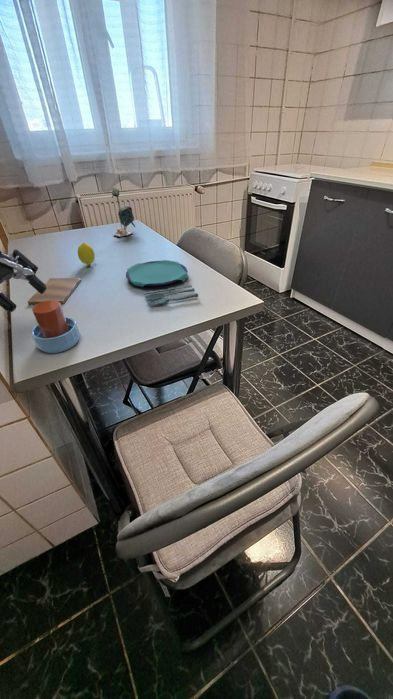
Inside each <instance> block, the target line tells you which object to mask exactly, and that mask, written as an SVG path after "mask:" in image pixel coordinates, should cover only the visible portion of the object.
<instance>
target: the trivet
mask: <svg viewBox="0 0 393 699" xmlns="http://www.w3.org/2000/svg"><path fill="white" fill-rule="evenodd" d="M81 282H82V278H81V277H53V278H52V277H51V278H49V279H48V280H47V281H46V282H45V283H44V284H45V285H46V288H47V289H46V291H45V292H44V293H43V294H40V293H39V292H38V291H37V290H36V292H35V293H34V294H33V295H32V296H31V297H30V299H29V300H28V301H27V304H28V305H29V306H35V305H36V304H38V303H41V302H44V301H49V300H54V301H58V302H59V303H60V305H64V304H65V303H66V302H67V300H68V299H69V298H70V297H71V295H72V294H73V293H74V291H75V290H76V289H77V287H78V286H79V285H80V284H81Z"/></svg>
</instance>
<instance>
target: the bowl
mask: <svg viewBox="0 0 393 699" xmlns="http://www.w3.org/2000/svg"><path fill="white" fill-rule="evenodd" d="M65 319H66V322H67V325H68V328H69V332H67V333H65V334H63V335H60V336H58V337H53V338H43V335H42V333H41V331H40V328H39V326H38V323H37V324H35V326H33V328H32V329H31V331H30V333H31V337H32V340H33V342H34V344H35V346H36V348H37V349H38V350H40V351H42V352H44V353H47V354H57V353H62V352H65V351H68V350H70V349H71V348H73V347H75V345H77V344H78V342H79V339H80V335H81V334H80V331H79V327H78V324H77V322H76V320H75V319H74V318H73V317H69V316H65Z"/></svg>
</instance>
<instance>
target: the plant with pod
mask: <svg viewBox="0 0 393 699" xmlns="http://www.w3.org/2000/svg"><path fill="white" fill-rule="evenodd" d="M111 190H112V191H111V195H112V196H111V199H113V198H114V197H115V198H116V200H117V206H118V214H117V215H118V219H119V223H120V227H118V228H116V232H113V235H114V236H116V237H125V236H129V235H131V234H132V232H130V231H128V230H127V227H128V226H129V225H130V224H132V226H133V227H134V228H136V225H135V223H134V220H135V216H134V214H133V208H132V206H130V205H127V204H126V205H124V206H122V207H120V200H119V196H120V189H119V188H118V187H116V186H113V187H112V189H111ZM122 226H123V227H122Z"/></svg>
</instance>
